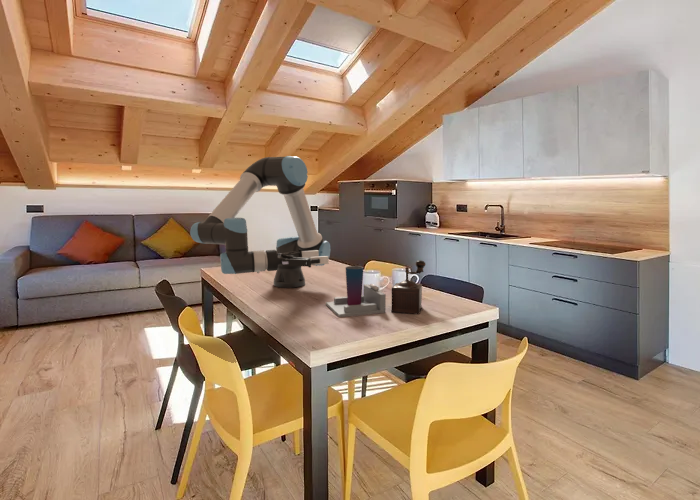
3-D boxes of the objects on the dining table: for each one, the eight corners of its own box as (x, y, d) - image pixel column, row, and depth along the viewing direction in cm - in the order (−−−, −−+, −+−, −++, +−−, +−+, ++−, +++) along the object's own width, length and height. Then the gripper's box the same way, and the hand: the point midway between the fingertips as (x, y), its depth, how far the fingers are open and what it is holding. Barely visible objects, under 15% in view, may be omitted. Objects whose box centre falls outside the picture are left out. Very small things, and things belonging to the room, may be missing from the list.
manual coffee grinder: (420, 314, 153) (421, 266, 150) (390, 312, 156) (391, 264, 153) (425, 304, 167) (426, 259, 165) (397, 302, 170) (398, 258, 168)
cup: (361, 308, 157) (361, 269, 155) (343, 307, 158) (343, 268, 156) (364, 304, 163) (364, 266, 161) (347, 303, 165) (347, 265, 163)
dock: (325, 304, 166) (325, 283, 165) (368, 300, 172) (368, 280, 171) (338, 317, 149) (338, 293, 148) (385, 312, 155) (385, 290, 154)
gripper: (261, 264, 162) (315, 260, 169) (271, 278, 139) (332, 273, 145) (260, 245, 161) (314, 242, 167) (270, 256, 137) (332, 251, 144)
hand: (323, 256), depth 156 cm, fingers open, 13 cm apart
